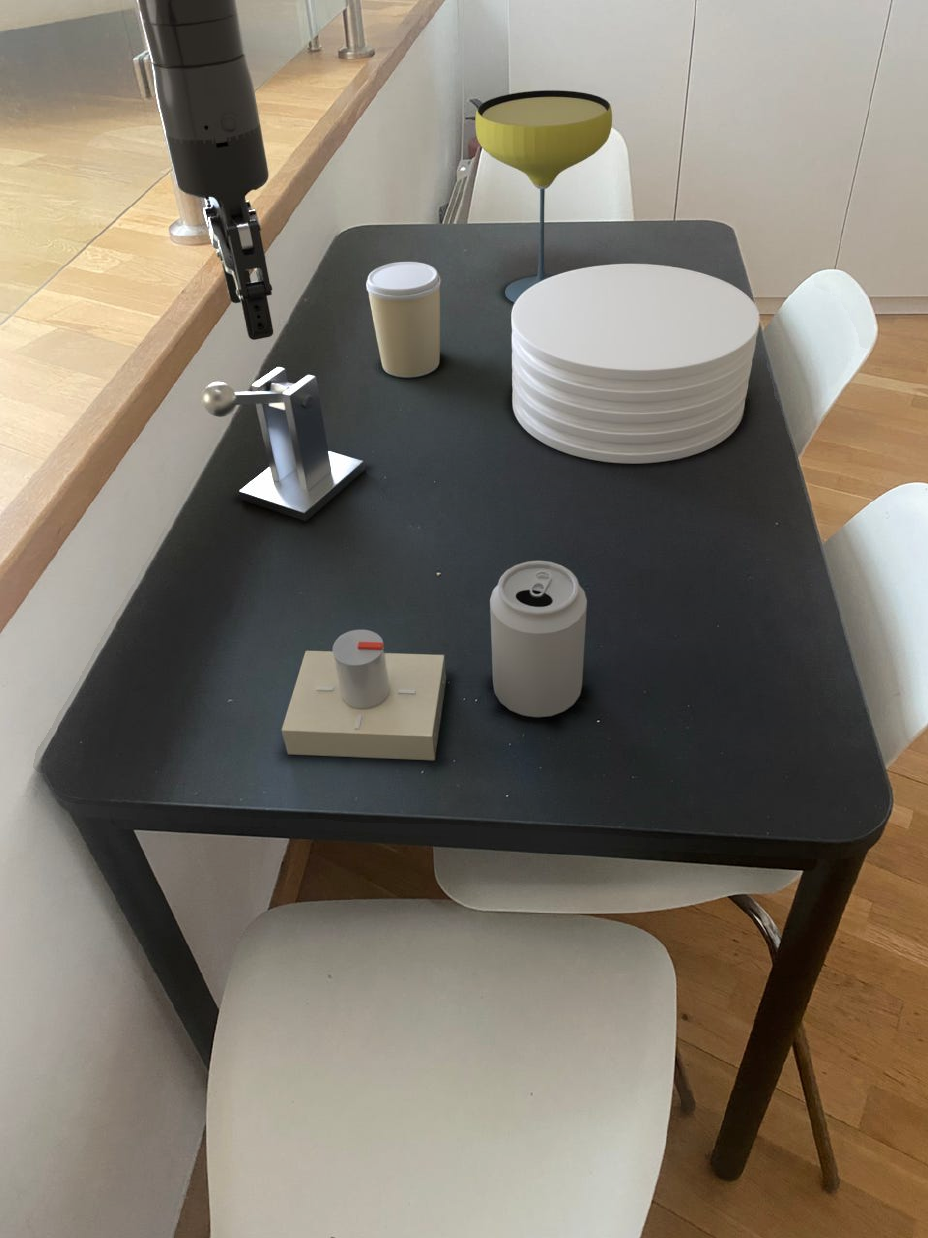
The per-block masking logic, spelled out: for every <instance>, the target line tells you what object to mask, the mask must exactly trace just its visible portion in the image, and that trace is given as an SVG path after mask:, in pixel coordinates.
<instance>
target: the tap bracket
mask: <svg viewBox="0 0 928 1238" xmlns="http://www.w3.org/2000/svg"><path fill="white" fill-rule="evenodd" d="M286 371H287V370H286V368H285V367H281V366H277V367H276V368H274V369H273V370H271V371H270V372H269V373H267V374H265V375H264V376H262V377H261V378H260V379H258V380H256V381H255V382H254V383H252V384H251V386H250V387H251V390H252V392H257V391H270V389H271V383H287V382H288V383H289V381H288V376H287V372H286ZM294 384H295V385H293V386H292V387H290V388H289V389H288V390H286V391H285V392H283V393H282V396H283V401H284V406H285V410H281V409H277V408H274V407H270V406H269V403H267V404H255V408H256V412H257V417H258V421H259V426H260V431H261V434H262V435H261V436H262V440H263V443H264V448H265V453H266V457H267V462H268V467H267V468H266V469H265V470H264V471H263V472H261V473H260V474H259V475H257V476H256V477H255V478H254V479H252V480H250V481H249V482H248V483H247V484H246V485H245V486H243V487H242V488H241V489H239V491H238V492H239V496H240V500H241V501H244V502H247V503H250V504H253V505H256V506H259V507H261V508H265V509H268V510H271V511H273V512H277V513H279V514H282V515H284V516H285V515H286V516H289V517H291V518H294V519H297V520H301V521H304V522H307V521H309V519H311V518H313V516H314V515H316V513H318V512H319V511H320V510H321V509H322V508H323V507H324V506H326V505H327V504H328V503H329V502H330V501H331V500H333V499H334V498H335V496H337V495H338V494H339V493H341V491H343V490H344V489H345V488H346V487H347V486H348V485H350V483H352V482H353V481H354V480H355V479H356V478H357V477H359V476H360V475H361V474H362V473H363V472H364V471H365V463H364V460H360V459H357V458H354V457H351V456H347V455H343V454H340V453H336V452H335V451H334V452H333V451H330V450H329V447H328V441H327V435H326V429H325V424H324V418H323V411H322V406H321V405H322V404H321V400H320V394H319V393H320V392H319V387H318V382H317V377H316V375H311V374H307V375H305V376H304V377H303V378H301V379H300V380H298V381H297V382H296V383H294Z"/></svg>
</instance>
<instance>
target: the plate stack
mask: <svg viewBox="0 0 928 1238" xmlns="http://www.w3.org/2000/svg"><path fill="white" fill-rule="evenodd" d="M510 318H511V369H512V371H511V386H512V393H511V395H512V396H511V403H512V411H513V414H514V416H515V418H516V420H517V422H518V424H520V426H521V427H522V428H523V429H524V430H525V431H526V432H527V434H529V435H531V436H532V437H533V438H534V439H536V440H538V441H539V442H541V443H542V444H544V445H546V446H548V447H550V448H552V449H555V450H557V451H560V452H562V453H565V454H568V455H571V456H574V457H578V458H582V459H587V460H591V461H596V462H597V461H598V462H603V463H613V464H629V465H630V464H632V465H633V464H636V465H637V464H653V463H662V462H663V463H664V462H669V461H675V460H680V459H684V458H688V457H692V456H694V455H697V454H700V453H703V452H705V451H707V450H709V449H712V448H714V447H715V446H718V445H720V444H721V443H722V442H724V441H725V440H727V438H729V437H730V436H731V435H732V434H733V433H734V432H735V431H736V429H737V428H738V426H739V425H740V423H741V421H742V419H743V417H744V411H745V407H746V406H745V404H746V398H747V393H748V390H749V381H750V376H751V371H752V367H753V358H754V355H755V350H756V344H757V336H758V334H759V328H760V321H761V320H760V319H761V317H760V312H759V310H758V307H757V306H756V304H755V303H754V301H753V299H751V297H750V296H748V295H747V294H746V293H745V292H744V291H742V290H741V289H739V288H738V287H736V286H734V285H733V284H731V283H729V282H727V281H725V280H722V279H720V278H718V277H715V276H713V275H712V276H711V275H709V274H707V273H703V272H699V271H696V270H692V269H687V268H683V267H676V266H670V265H663V264H662V265H661V264H650V263H649V264H648V263H613V264H603V265H594V266H586V267H582V268H576V269H572V270H568V271H564V272H562V273H558V274H556V275H552V276H551V277H550V278H547V279H545V280H543V281H541V282H539V283H537V284H535V285H533V286H532V287H530V288H529V289H527V290H526V291H525V292H524V293H523V294H522V295H521V296H520V297H519V298H518V299H517V301H516V302H515V303H513V306H512V309H511V315H510Z"/></svg>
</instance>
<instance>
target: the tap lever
mask: <svg viewBox="0 0 928 1238" xmlns="http://www.w3.org/2000/svg"><path fill="white" fill-rule="evenodd" d="M295 384H296V383H293V382H289V381H288V382H287V383H271V389H270V391H257V392H253V391H236V392H235V390H234V389H233V388H232V387H231V386H230V385H229V384H227V383H225V382H222V381H214V382H212V383H209V384H208V385H207V386H206V387H204V389H203V391H202V394H201V403H202V405H203V408H204V409H205V411H206V412H207V413H209V414H210V415H212V416H213V417H219V418H222V417H227V416H229V415H230V414H232V413H233V412H234V411H235V409H236V407H237V406H247V405H256V404H267V403H269V406H270V407H274V408H277V409H281V410H285V406H284V401H283V396H282V393H283V392H285V391H286V390H288V389H289V388H290V387H292V386H293V385H295Z"/></svg>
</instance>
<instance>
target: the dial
mask: <svg viewBox="0 0 928 1238" xmlns="http://www.w3.org/2000/svg"><path fill="white" fill-rule="evenodd" d="M332 651H333V656H334V661H335V666H336V671H337V676H338V681H339V686H340V691H341V696H342V699H343V700H344V702H345V703H346V704H348V705H349V706H351V707H354V708H359V709H367V708H372V707H375V706H377V705H379V704H381V703H382V702H383V701H384V700H385V699H386V698H387V696H388V695H389V692H390V684H389V677H388V670H387V664H386V657H385V653H386V651H385V644H384V641H383V638H382V637H381V636H380V635H379V634H378V633H377V632H374V631H372V630H370V629H369V630H368V629H354V630H350V631H347V632H345V633H343V634H341V635H340V636H338V637H337V639H336V640H335V641H334V643H333V645H332Z"/></svg>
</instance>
